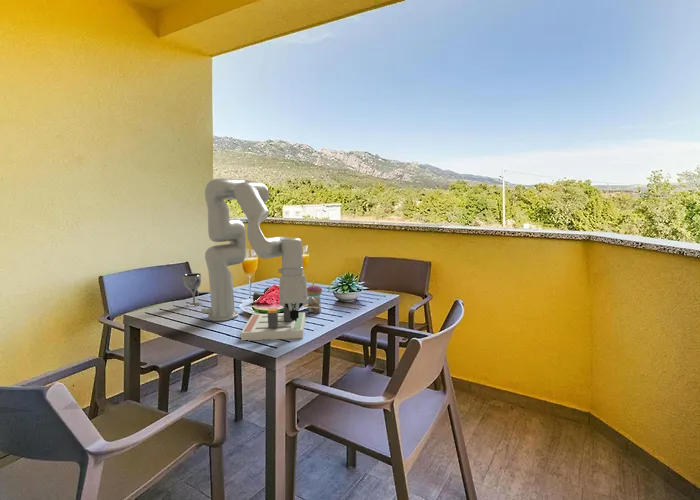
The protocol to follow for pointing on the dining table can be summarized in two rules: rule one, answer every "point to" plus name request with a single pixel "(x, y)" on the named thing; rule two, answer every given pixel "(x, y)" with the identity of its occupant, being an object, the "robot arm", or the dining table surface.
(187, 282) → the wine glass
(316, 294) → the cupcake
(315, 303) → the architectural model
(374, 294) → the dining table surface
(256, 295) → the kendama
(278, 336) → the switch panel
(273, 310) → the grey upright block
